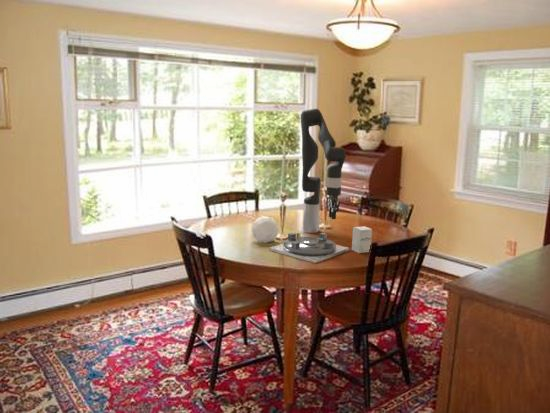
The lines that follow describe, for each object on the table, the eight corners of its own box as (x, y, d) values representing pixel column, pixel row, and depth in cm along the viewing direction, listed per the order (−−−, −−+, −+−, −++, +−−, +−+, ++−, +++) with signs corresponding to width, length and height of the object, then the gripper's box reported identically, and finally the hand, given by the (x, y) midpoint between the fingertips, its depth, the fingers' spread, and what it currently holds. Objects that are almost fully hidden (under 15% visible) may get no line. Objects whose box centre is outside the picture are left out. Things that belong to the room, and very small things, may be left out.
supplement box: (359, 253, 262) (360, 230, 260) (351, 249, 269) (352, 226, 266) (371, 252, 265) (372, 229, 263) (363, 248, 272) (364, 225, 269)
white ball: (267, 248, 285) (279, 225, 289) (272, 246, 271) (285, 222, 274) (245, 236, 284) (258, 213, 287) (249, 233, 269) (262, 209, 273)
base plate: (304, 239, 286) (304, 230, 285) (349, 250, 267) (349, 240, 266) (269, 250, 264) (269, 240, 263) (315, 263, 245) (315, 252, 244)
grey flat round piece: (304, 237, 284) (305, 228, 283) (346, 247, 267) (346, 237, 266) (272, 247, 264) (272, 237, 263) (315, 258, 246) (315, 248, 245)
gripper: (322, 183, 267) (321, 215, 271) (331, 188, 254) (330, 221, 257) (335, 183, 269) (334, 215, 273) (345, 188, 256) (344, 221, 259)
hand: (332, 218), depth 265 cm, fingers open, 3 cm apart
